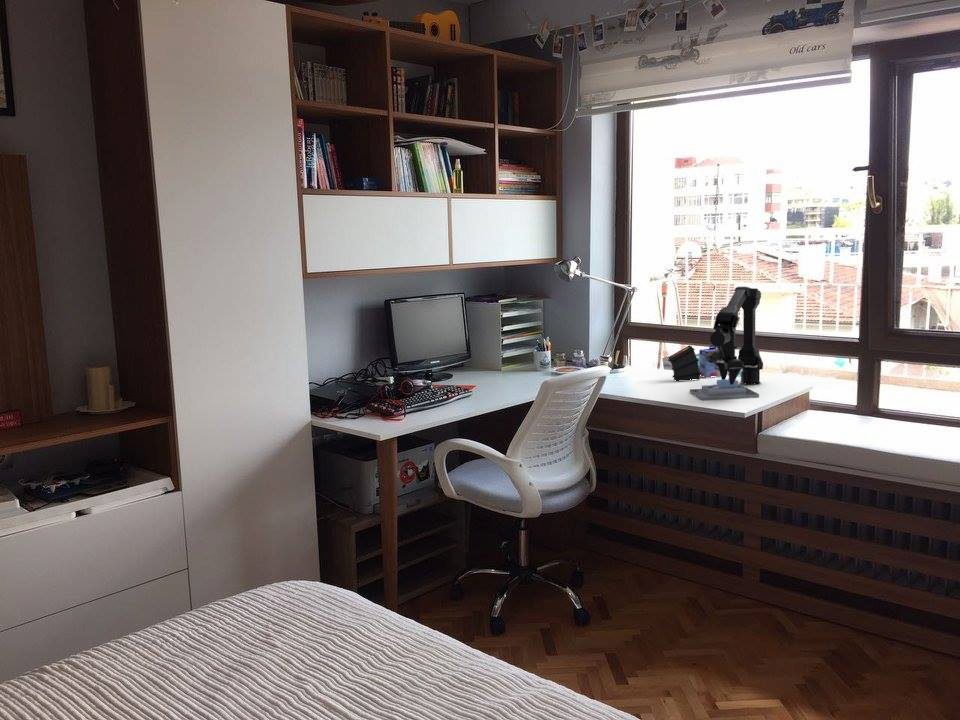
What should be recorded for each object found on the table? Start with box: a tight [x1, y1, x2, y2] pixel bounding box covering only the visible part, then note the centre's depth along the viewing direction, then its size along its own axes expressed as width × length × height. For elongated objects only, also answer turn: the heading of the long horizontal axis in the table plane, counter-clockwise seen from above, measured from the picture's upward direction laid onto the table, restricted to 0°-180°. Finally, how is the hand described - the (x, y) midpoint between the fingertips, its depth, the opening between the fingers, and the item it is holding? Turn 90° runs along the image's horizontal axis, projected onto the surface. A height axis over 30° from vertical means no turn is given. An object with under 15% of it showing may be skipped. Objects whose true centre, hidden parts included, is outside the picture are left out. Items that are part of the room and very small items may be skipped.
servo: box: [713, 377, 739, 389], centre depth 318 cm, size 9×4×5 cm, turn 94°
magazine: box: [667, 345, 701, 382], centre depth 351 cm, size 4×13×15 cm, turn 97°
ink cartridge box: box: [698, 344, 721, 377], centre depth 357 cm, size 10×6×14 cm, turn 111°
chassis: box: [689, 383, 760, 401], centre depth 318 cm, size 22×16×3 cm
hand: (727, 382), depth 318 cm, fingers open, 9 cm apart
